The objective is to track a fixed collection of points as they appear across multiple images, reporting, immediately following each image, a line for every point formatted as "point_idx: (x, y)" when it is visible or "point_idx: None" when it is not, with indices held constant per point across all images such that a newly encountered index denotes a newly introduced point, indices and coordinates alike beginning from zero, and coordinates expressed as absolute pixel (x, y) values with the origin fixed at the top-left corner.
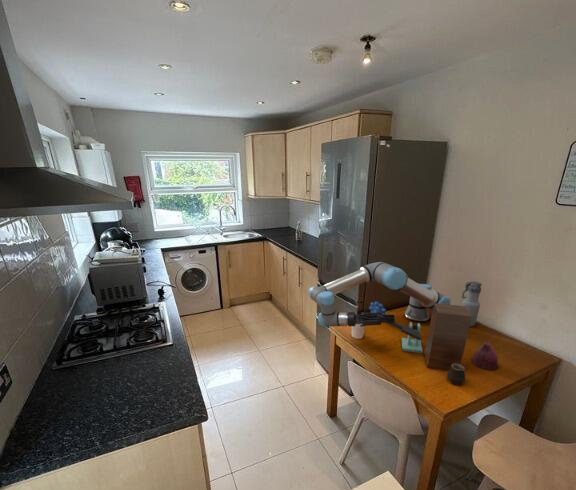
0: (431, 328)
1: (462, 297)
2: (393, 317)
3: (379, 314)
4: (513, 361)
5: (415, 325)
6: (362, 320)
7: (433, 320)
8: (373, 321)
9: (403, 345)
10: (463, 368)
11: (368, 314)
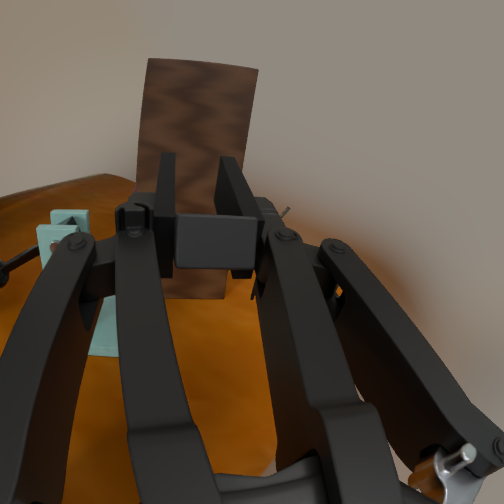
0: (180, 163)
1: None
2: (230, 160)
3: (180, 213)
4: (129, 195)
5: (70, 220)
6: (405, 486)
7: (195, 121)
8: (385, 300)
9: (93, 343)
10: (288, 207)
11: (45, 411)
